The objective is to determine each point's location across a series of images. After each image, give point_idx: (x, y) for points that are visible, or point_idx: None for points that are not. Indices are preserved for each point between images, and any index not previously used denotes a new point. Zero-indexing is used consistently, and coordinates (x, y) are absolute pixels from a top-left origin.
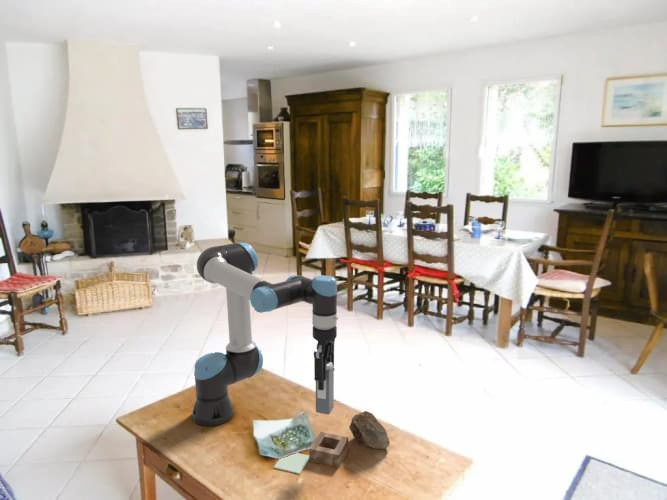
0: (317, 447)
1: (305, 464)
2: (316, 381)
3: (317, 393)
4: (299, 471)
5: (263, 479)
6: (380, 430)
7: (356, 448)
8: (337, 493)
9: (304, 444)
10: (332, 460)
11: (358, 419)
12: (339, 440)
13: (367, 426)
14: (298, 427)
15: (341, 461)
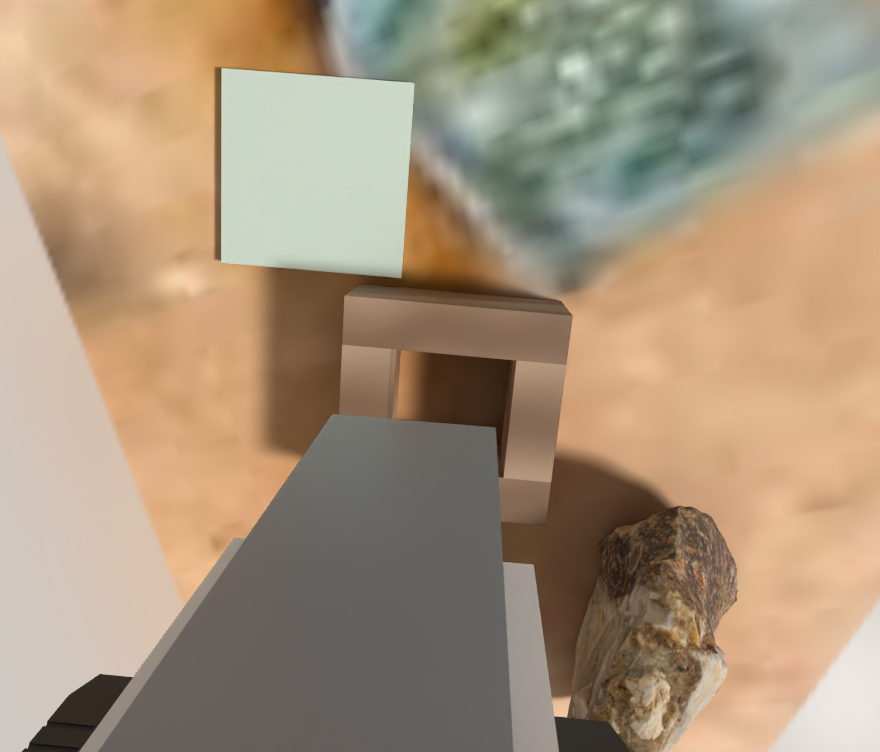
0: (373, 347)
1: (314, 270)
2: (154, 692)
3: (208, 576)
4: (233, 256)
5: (103, 46)
6: None
7: (559, 531)
8: (152, 506)
9: (525, 191)
10: None
11: (610, 662)
12: (503, 471)
13: (579, 704)
14: (730, 70)
15: None
